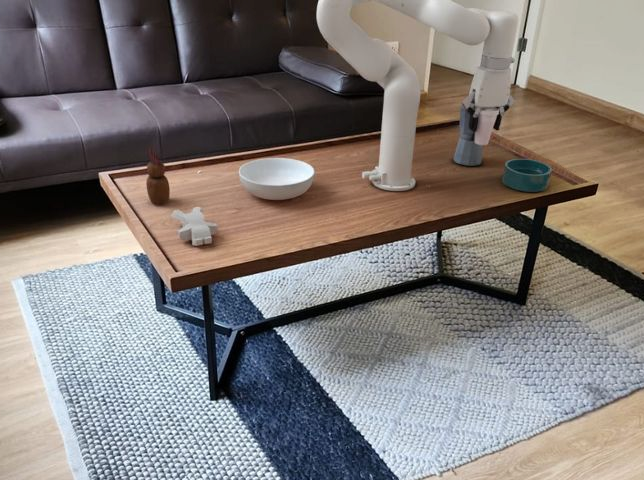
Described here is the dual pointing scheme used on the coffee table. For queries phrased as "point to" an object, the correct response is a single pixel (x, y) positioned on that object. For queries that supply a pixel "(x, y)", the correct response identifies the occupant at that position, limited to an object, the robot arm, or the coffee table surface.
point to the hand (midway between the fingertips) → (483, 129)
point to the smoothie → (485, 124)
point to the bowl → (526, 175)
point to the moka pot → (467, 143)
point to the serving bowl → (276, 178)
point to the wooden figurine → (157, 181)
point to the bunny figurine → (195, 227)
